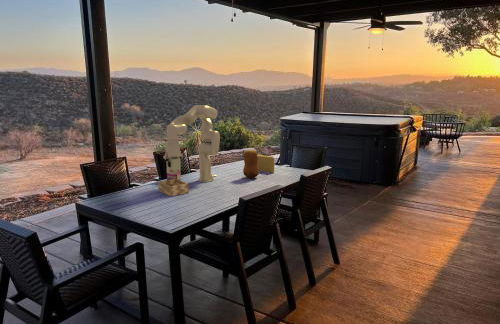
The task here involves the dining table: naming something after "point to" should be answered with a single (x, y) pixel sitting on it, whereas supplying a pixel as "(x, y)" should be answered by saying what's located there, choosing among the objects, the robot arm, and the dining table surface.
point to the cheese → (265, 163)
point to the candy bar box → (173, 174)
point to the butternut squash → (250, 164)
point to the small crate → (174, 164)
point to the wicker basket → (173, 187)
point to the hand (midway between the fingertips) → (173, 166)
